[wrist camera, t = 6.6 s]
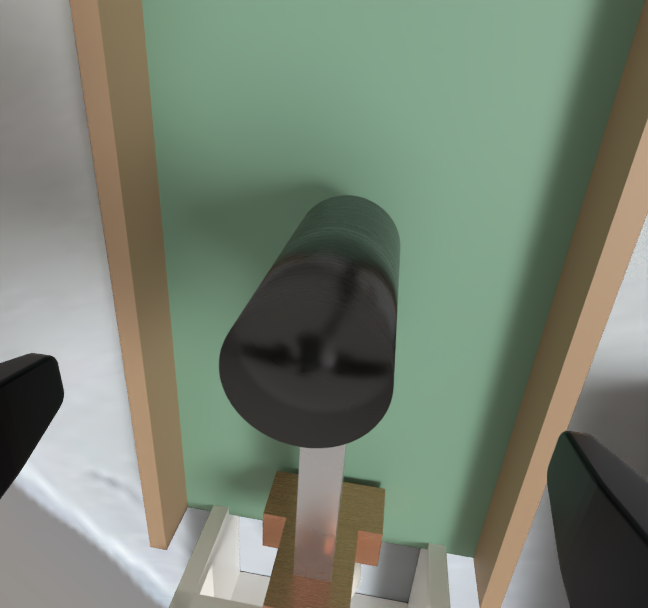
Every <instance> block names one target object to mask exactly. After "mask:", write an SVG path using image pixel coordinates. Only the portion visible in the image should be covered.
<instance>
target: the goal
mask: <svg viewBox="0 0 648 608" xmlns="http://www.w3.org/2000/svg"><path fill="white" fill-rule="evenodd" d="M269 581H270V577H267V576H262V575H256V574H251V573H246V572H241V571H240V547H239V516H236V515H230V514H229V507H223V506H218V505H213V507H212V510H211V512H210V514H209V517H208V519H207V521H206V523H205V526H204V528H203V530H202V533H201V535H200V537H199V539H198V542H197V544H196V546H195V549H194V551H193V553H192V555H191V558H190V560H189V562H188V565H187V567H186V569H185V571H184V574H183V576H182V578H181V581H180V583H179V585H178V587H177V590H176V592H175V594H174V597H173V599H172V601H171V603H170V606H169V608H263V604H264V600H265V596H266V592H267V589H268V585H269ZM350 608H450V596H449V583H448V569H447V555H446V546H445V545H439V544H433V543H429V545H428V549H421V550H420V554H419V558H418V563H417V567H416V571H415V576H414V580H413V584H412V589H411V593H410V597H409V602H408V603H404V602H398V601H393V600H388V599H382V598H377V597H372V596H367V595H361V594H356V593H355V594H354V596H353V597H352V598H351V603H350Z"/></svg>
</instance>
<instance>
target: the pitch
mask: <svg viewBox="0 0 648 608" xmlns="http://www.w3.org/2000/svg"><path fill="white" fill-rule="evenodd" d="M70 7H71V13H72V20H73V27H74V34H75V41H76V47H77V54H78V61H79V68H80V74H81V81H82V88H83V95H84V101H85V108H86V115H87V122H88V128H89V135H90V142H91V149H92V155H93V162H94V169H95V176H96V182H97V189H98V196H99V203H100V209H101V216H102V223H103V230H104V236H105V243H106V250H107V257H108V263H109V270H110V277H111V284H112V290H113V297H114V304H115V311H116V317H117V324H118V331H119V338H120V345H121V351H122V358H123V365H124V372H125V378H126V385H127V392H128V399H129V405H130V412H131V419H132V426H133V432H134V439H135V446H136V453H137V459H138V466H139V473H140V480H141V486H142V493H143V500H144V507H145V513H146V520H147V527H148V534H149V540H150V547H153V548H159V549H164V550H167V548H168V546H169V544H170V542H171V540H172V538H173V536H174V534H175V532H176V530H177V528H178V526H179V524H180V522H181V520H182V518H183V516H184V514H185V512H186V510H187V508H188V507H191V508H196V509H202V510H207V511H211V510H212V507H213V505H218V506H223V507H229V514H230V515H236V516H241V517H247V518H252V519H258V520H263V512H264V509H265V506H266V503H267V499H268V496H269V493H270V490H271V487H272V484H273V481H274V478H275V474H276V471H281V472H287V473H293V474H299V458H300V447H298V446H293V445H289V444H286V443H282V442H279V441H277V440H275V439H272V438H270V437H268V436H266V435H265V434H263V433H261V432H259V431H258V430H257V429H255V428H254V427H252V426H251V425H250V424H249V423H247V422H246V421H245V420H244V419H243V418H242V417H241V416H240V415H239V414H238V413H237V411H236V410H235V409H234V407H233V406H232V405H231V403H230V401H229V400H228V398H227V396H226V394H225V392H224V389H223V387H222V383H221V380H220V374H219V356H220V351H221V347H222V345H223V342H224V339H225V338H226V336H227V334H228V332H229V331H230V329H231V328H232V326H233V325H234V323H235V322H236V320H237V319H238V317H239V316H240V314H241V313H242V311H243V309H244V308H245V306H246V305H247V303H248V302H249V300H250V299H251V297H252V296H253V294H254V293H255V291H256V290H257V288H258V287H259V285H260V284H261V282H262V280H263V279H264V277H265V276H266V274H267V273H268V271H269V270H270V268H271V267H272V265H273V264H274V262H275V261H276V259H277V258H278V256H279V255H280V253H281V252H282V250H283V248H284V247H285V245H286V244H287V242H288V241H289V239H290V238H291V236H292V235H293V233H294V232H295V230H296V229H297V227H298V226H299V224H300V223H301V221H302V219H303V218H304V217H305V215H306V214H307V213H308V211H310V210H311V209H312V208H313V207H314V206H315V205H317V204H318V203H320V202H321V201H323V200H325V199H328V198H331V197H335V196H341V195H353V196H359V197H362V198H366V199H368V200H370V201H372V202H374V203H376V204H377V205H379V206H380V207H381V208H383V209H384V210H385V211H386V212H387V213H388V214H389V216H390V217H391V218H392V220H393V221H394V223H395V225H396V227H397V230H398V233H399V237H400V246H401V248H400V269H399V289H398V310H397V330H396V351H395V372H394V389H393V396H392V400H391V403H390V406H389V408H388V410H387V412H386V414H385V415H384V417H383V419H382V420H381V421H380V422H379V423H378V425H377V426H376V427H375V428H373V429H372V430H371V431H370V432H369V433H367V434H366V435H364V436H363V437H361V438H359V439H357V440H355V441H353V442H350V443H347V451H346V460H345V469H344V478H343V482H347V483H353V484H359V485H365V486H371V487H377V488H383V489H385V506H384V523H383V537H382V542H387V543H393V544H399V545H404V546H410V547H416V548H421V549H428V545H429V543H433V544H439V545H445V546H446V553H449V554H455V555H461V556H466V557H472V558H473V559H474V567H475V574H476V582H477V590H478V598H479V606H480V608H501V605H502V602H503V600H504V597H505V594H506V591H507V589H508V586H509V583H510V581H511V578H512V575H513V573H514V570H515V567H516V565H517V562H518V559H519V557H520V554H521V551H522V549H523V546H524V543H525V541H526V538H527V535H528V532H529V530H530V527H531V524H532V522H533V519H534V516H535V514H536V511H537V508H538V506H539V503H540V500H541V498H542V495H543V492H544V490H545V487H546V484H547V469H548V465H549V463H550V460H551V457H552V454H553V451H554V449H555V446H556V443H557V440H558V438H559V436H560V434H561V433H562V432H564V431H567V428H568V425H569V422H570V420H571V417H572V414H573V412H574V409H575V406H576V404H577V401H578V398H579V396H580V393H581V390H582V388H583V385H584V382H585V380H586V377H587V374H588V371H589V369H590V366H591V363H592V361H593V358H594V355H595V353H596V350H597V347H598V345H599V342H600V339H601V337H602V334H603V331H604V329H605V326H606V323H607V321H608V318H609V315H610V312H611V310H612V307H613V304H614V302H615V299H616V296H617V294H618V291H619V288H620V286H621V283H622V280H623V278H624V275H625V272H626V270H627V267H628V264H629V261H630V259H631V256H632V253H633V251H634V248H635V245H636V243H637V240H638V237H639V235H640V232H641V229H642V227H643V224H644V221H645V219H646V216H647V213H648V0H70Z"/></svg>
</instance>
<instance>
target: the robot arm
mask: <svg viewBox="0 0 648 608" xmlns="http://www.w3.org/2000/svg"><path fill="white" fill-rule="evenodd" d="M63 398H64V389H63V384H62V380H61V375H60V371H59V366H58V362H57V360H56V359H55V358H54V357H53V356H51V355H44V354H37V353H30V354H26V355H23V356H20V357H17V358H14V359H11V360H8V361H5V362H2V363H0V499H1V498H2V496H3V495H4V493H5V492H6V491H7V490H8V488H9V487H10V485H11V484H12V483H13V481H14V480H15V479H16V477H17V476H18V474H19V473H20V471H21V470H22V468H23V467H24V465H25V464H26V462H27V460H28V459H29V457H30V455H31V454H32V452H33V450H34V449H35V447H36V446H37V444H38V442H39V441H40V439H41V437H42V436H43V434H44V433H45V431H46V429H47V428H48V426H49V424H50V423H51V421H52V419H53V418H54V416H55V415H56V413H57V411H58V410H59V408H60V406H61V404H62V402H63ZM547 485H548V492H549V498H550V505H551V512H552V518H553V525H554V532H555V538H556V545H557V552H558V558H559V564H560V569H561V574H562V578H563V582H564V586H565V590H566V594H567V597H568V601H569V605H570V608H648V482H647V481H646V480H645V479H643V478H642V477H641V476H640V475H638V474H637V473H636V472H635V471H634V470H632V469H631V468H630V467H629V466H628V465H626V464H625V463H624V462H623V461H622V460H620V459H619V458H618V457H617V456H616V455H614V454H613V453H612V452H611V451H610V450H608V449H607V448H606V447H605V446H604V445H602V444H601V443H600V442H599V441H598V440H596V439H595V438H594V437H593V436H591V435H589V434H587V433H580V432H573V431H564V432H562V433H561V434H560V436H559V438H558V440H557V443H556V446H555V449H554V451H553V454H552V457H551V460H550V463H549V465H548V469H547Z"/></svg>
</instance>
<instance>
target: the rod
mask: <svg viewBox="0 0 648 608" xmlns="http://www.w3.org/2000/svg"><path fill="white" fill-rule="evenodd" d="M400 248H401V246H400V237H399V233H398V230H397V227H396V225H395V223H394V221H393V220H392V218H391V217H390V216H389V214H388V213H387V212H386V211H385V210H384V209H383V208H381V207H380V206H379V205H377V204H376V203H374V202H372V201H370V200H368V199H366V198H362V197H359V196H353V195H341V196H335V197H331V198H328V199H325V200H323V201H321V202H320V203H318V204H317V205H315V206H314V207H313V208H312V209H311V210H310V211H308V213H307V214H306V215H305V217H304V218H303V219H302V221H301V223H300V224H299V226H298V227H297V229H296V230H295V232H294V233H293V235H292V236H291V238H290V239H289V241H288V242H287V244H286V245H285V247H284V248H283V250H282V252H281V253H280V255H279V256H278V258H277V259H276V261H275V262H274V264H273V265H272V267H271V268H270V270H269V271H268V273H267V274H266V276H265V277H264V279H263V280H262V282H261V284H260V285H259V287H258V288H257V290H256V291H255V293H254V294H253V296H252V297H251V299H250V300H249V302H248V303H247V305H246V306H245V308H244V309H243V311H242V313H241V314H240V316H239V317H238V319H237V320H236V322H235V323H234V325H233V326H232V328H231V329H230V331H229V332H228V334H227V336H226V338H225V339H224V342H223V345H222V347H221V351H220V356H219V374H220V380H221V383H222V387H223V389H224V392H225V394H226V396H227V398H228V400H229V401H230V403H231V405H232V406H233V407H234V409H235V410H236V411H237V413H238V414H239V415H240V416H241V417H242V418H243V419H244V420H245V421H246V422H247V423H249V424H250V425H251V426H252V427H254V428H255V429H257V430H258V431H259V432H261V433H263V434H265V435H266V436H268V437H270V438H272V439H275V440H277V441H279V442H282V443H286V444H289V445H293V446H298V447H300V458H299V474H293V473H287V472H281V471H276V474H275V478H274V481H273V484H272V487H271V490H270V493H269V496H268V499H267V503H266V506H265V509H264V512H263V546H268V547H274V548H278V551H277V555H276V559H275V562H274V566H273V570H272V574H271V577H270V581H269V585H268V589H267V592H266V596H265V600H264V604H263V608H350V603H351V594H352V584H353V575H354V566H355V563H361V564H366V565H372V566H378V560H379V554H380V548H381V543H382V537H383V523H384V506H385V489H383V488H377V487H371V486H365V485H359V484H353V483H347V482H343V478H344V469H345V460H346V451H347V443H350V442H353V441H355V440H357V439H359V438H361V437H363V436H364V435H366V434H367V433H369V432H370V431H371V430H372V429H373V428H375V427H376V426H377V425H378V423H379V422H380V421H381V420H382V419H383V417H384V415H385V414H386V412H387V410H388V408H389V406H390V403H391V400H392V396H393V389H394V372H395V351H396V330H397V310H398V289H399V269H400Z"/></svg>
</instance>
